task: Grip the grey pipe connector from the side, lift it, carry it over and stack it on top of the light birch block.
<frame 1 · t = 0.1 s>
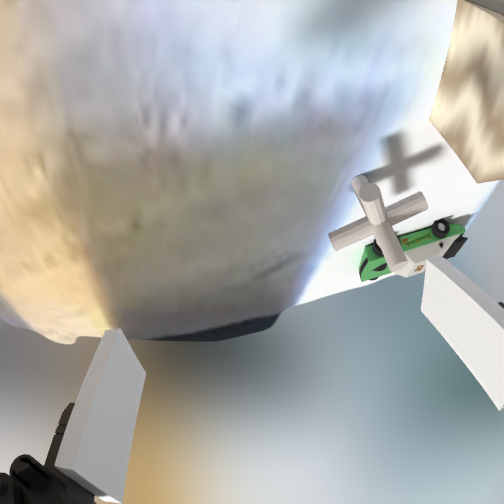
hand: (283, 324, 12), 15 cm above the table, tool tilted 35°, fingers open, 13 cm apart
toy car: (407, 240, 45), on the table
pipe connector: (358, 179, 29), on the table
birch block: (490, 70, 17), on the table
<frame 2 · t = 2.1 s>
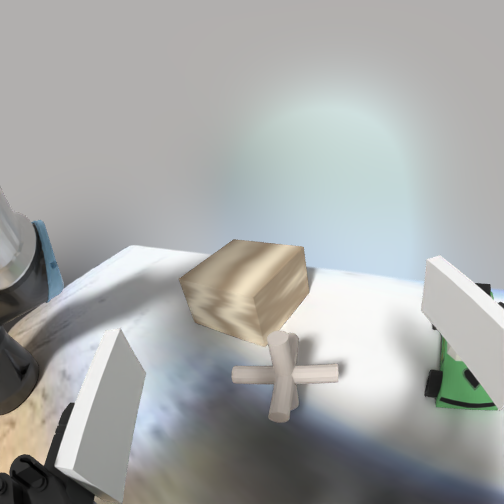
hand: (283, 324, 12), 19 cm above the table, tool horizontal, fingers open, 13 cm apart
toy car: (467, 354, 28), on the table
pipe connector: (290, 404, 29), on the table
birch block: (252, 308, 46), on the table
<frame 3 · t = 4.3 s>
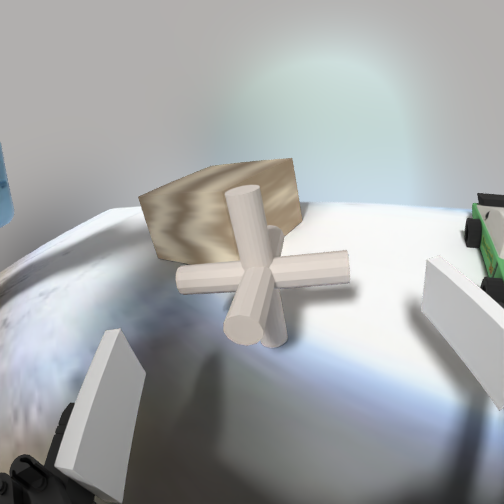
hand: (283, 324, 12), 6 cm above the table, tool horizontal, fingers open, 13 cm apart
pipe connector: (274, 340, 19), on the table
birch block: (230, 239, 37), on the table
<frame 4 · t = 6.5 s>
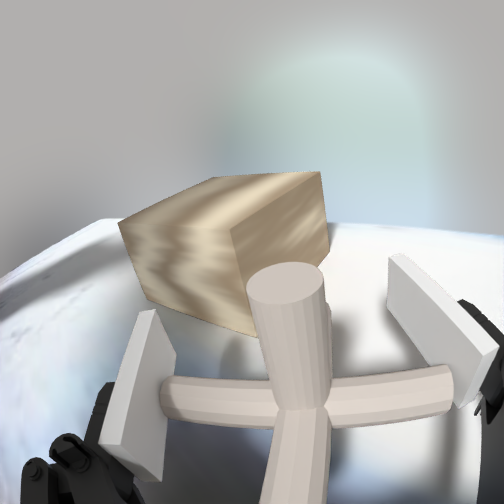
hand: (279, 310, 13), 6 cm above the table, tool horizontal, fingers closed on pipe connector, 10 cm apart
pipe connector: (311, 460, 11), on the table, touching gripper
birch block: (238, 276, 28), on the table
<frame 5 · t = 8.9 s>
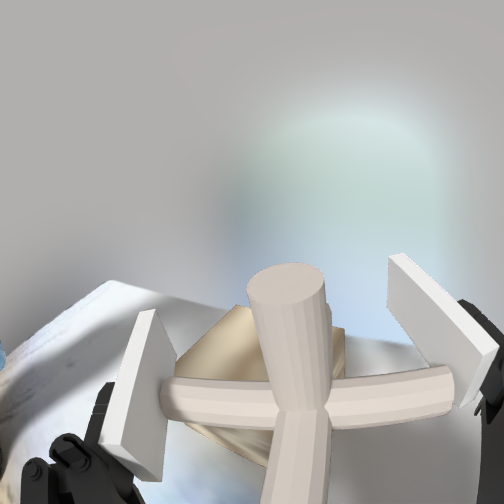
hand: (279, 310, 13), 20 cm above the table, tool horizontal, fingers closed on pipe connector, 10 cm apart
pipe connector: (311, 461, 11), point 14 cm above the table, touching gripper
birch block: (265, 406, 30), on the table
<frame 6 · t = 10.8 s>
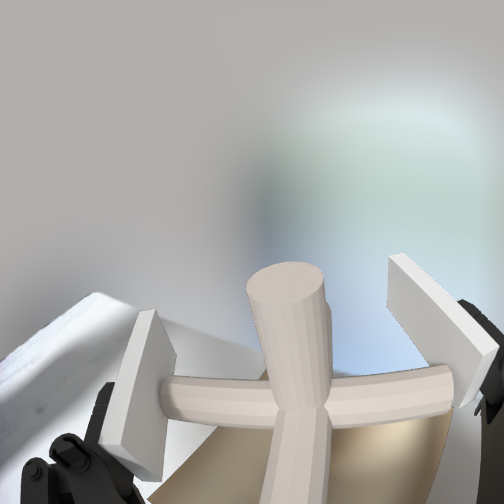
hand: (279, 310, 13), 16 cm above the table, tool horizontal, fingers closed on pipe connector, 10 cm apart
pipe connector: (311, 460, 11), point 10 cm above the table, touching gripper
when the fingers open (15 cm above the table, at t = 11.5 s): pipe connector drops 1 cm, resting on birch block.
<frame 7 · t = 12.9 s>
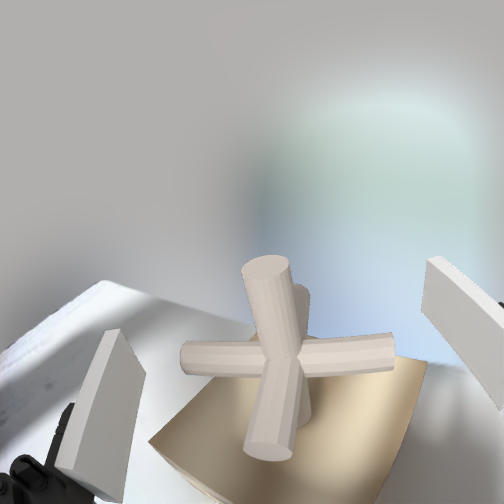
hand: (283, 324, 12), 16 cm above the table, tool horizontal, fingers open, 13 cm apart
pipe connector: (296, 416, 16), point 8 cm above the table, touching birch block
birch block: (304, 463, 19), on the table
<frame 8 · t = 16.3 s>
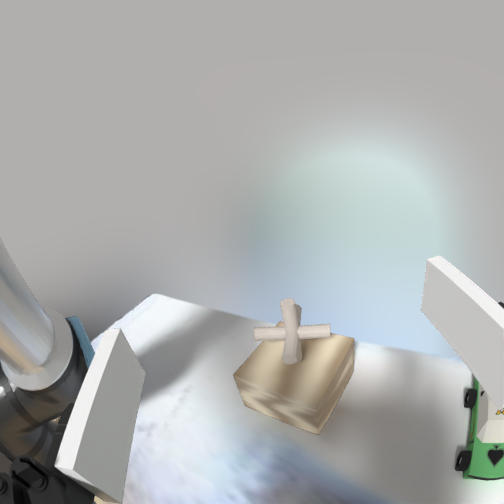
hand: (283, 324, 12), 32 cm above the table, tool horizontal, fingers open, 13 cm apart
toy car: (490, 429, 26), on the table
pipe connector: (296, 358, 41), point 8 cm above the table, touching birch block
birch block: (300, 390, 44), on the table
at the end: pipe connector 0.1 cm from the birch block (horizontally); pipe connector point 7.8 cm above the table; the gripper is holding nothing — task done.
